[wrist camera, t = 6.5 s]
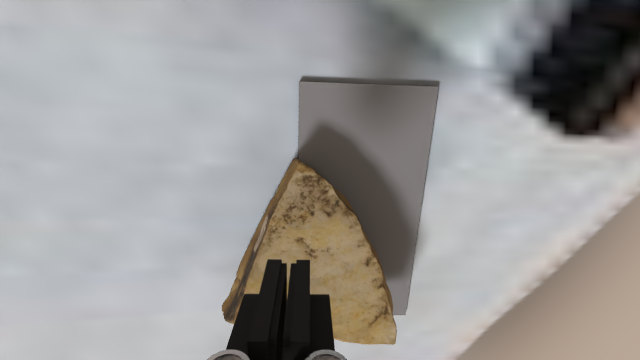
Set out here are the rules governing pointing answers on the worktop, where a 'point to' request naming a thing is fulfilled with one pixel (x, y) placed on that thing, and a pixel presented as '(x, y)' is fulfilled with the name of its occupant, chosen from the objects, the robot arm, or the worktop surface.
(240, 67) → the worktop surface
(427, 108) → the rubber mat
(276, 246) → the rock
